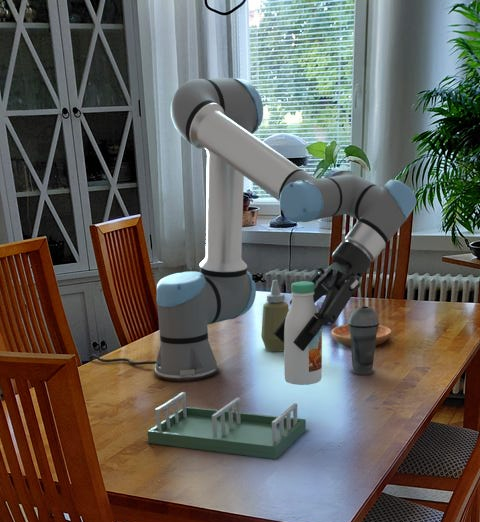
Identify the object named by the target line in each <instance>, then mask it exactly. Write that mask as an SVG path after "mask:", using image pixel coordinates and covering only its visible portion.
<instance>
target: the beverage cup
mask: <svg viewBox="0 0 480 522" xmlns="http://www.w3.org/2000/svg"><path fill="white" fill-rule="evenodd" d="M357 290H358V291H357V292H358V300H359V306H358V307H356V308H355V309H354V310H353V311H352V312H351V313H350V316H349V317H348V323H347V324H348V326H349V332H350V338H351V346H350V351H351V352H350V353H351V365H352V373H353V374H356V375H360V376H361V375H363V376H364V375H370V374H372V373H373V366H374V361H375V360H374V359H375V352H376V351H375V350H376V346H375V344H376V335H377V331H378V325H380V322H379V317H378V314H377V312H376V311H375V310H374V309H373V308H372V307H369V306H367V305H366V306H365V305H364V306H363V302H362V301H363V300H362V292H361V286H360V287H359V288H358V289H357Z"/></svg>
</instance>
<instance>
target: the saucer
mask: <svg viewBox="0 0 480 522" xmlns="http://www.w3.org/2000/svg"><path fill="white" fill-rule="evenodd" d="M331 336H332V338H333V339H334V340H335V341H337V342H338V343H339V344H341V345H343V346H347V347H351V338H350V332H349V326H348V323H347V324H343V325H339V326H335V327H334V328H333V329H331ZM391 336H392V329H391V328H389V327H387V326H385V325H382V324H379V325H378V331H377V335H376V344H375V347H376V346H379V345H382V344H383V343H385V342H387V340H388V339H390V337H391Z"/></svg>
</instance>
